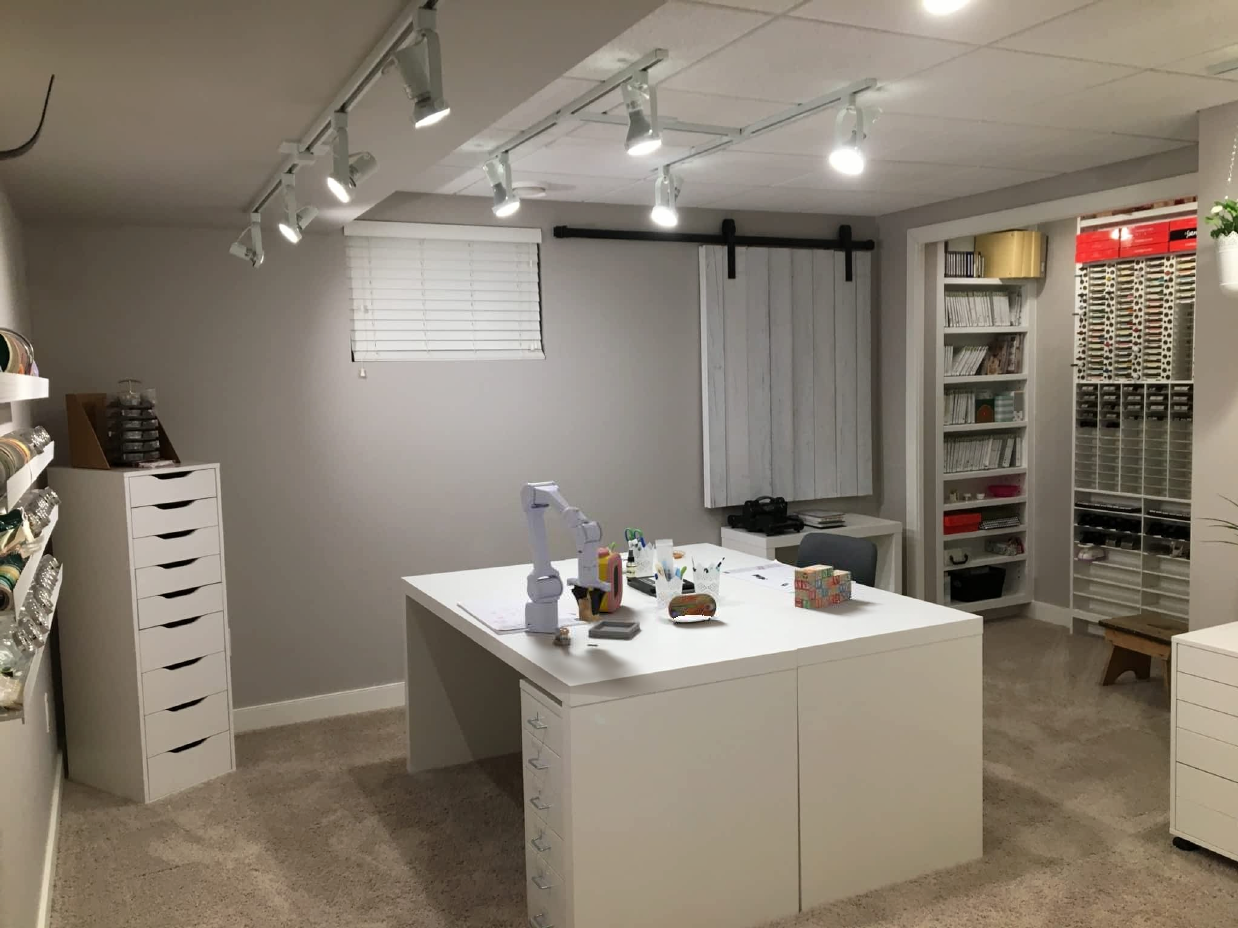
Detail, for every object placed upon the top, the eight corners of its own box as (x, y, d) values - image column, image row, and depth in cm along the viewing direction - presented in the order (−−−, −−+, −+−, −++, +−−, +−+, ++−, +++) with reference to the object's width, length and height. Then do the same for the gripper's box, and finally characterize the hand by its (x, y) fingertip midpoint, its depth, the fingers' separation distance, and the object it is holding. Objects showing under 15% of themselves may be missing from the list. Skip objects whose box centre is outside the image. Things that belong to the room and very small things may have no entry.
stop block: (579, 620, 283) (578, 599, 282) (588, 617, 286) (587, 596, 285) (590, 622, 280) (589, 601, 280) (599, 619, 283) (598, 598, 283)
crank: (554, 637, 286) (553, 623, 285) (566, 636, 287) (566, 622, 286) (559, 645, 277) (559, 631, 276) (572, 644, 277) (572, 630, 277)
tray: (588, 636, 292) (588, 629, 291) (601, 626, 303) (601, 620, 303) (628, 638, 288) (628, 632, 288) (639, 628, 300) (639, 622, 299)
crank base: (550, 645, 283) (549, 641, 283) (556, 640, 288) (556, 636, 288) (594, 647, 279) (594, 643, 279) (599, 643, 284) (599, 639, 284)
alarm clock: (612, 616, 316) (611, 555, 314) (578, 615, 318) (576, 554, 317) (624, 603, 334) (622, 545, 332) (591, 602, 336) (590, 545, 335)
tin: (670, 624, 305) (670, 597, 304) (667, 622, 308) (666, 594, 307) (717, 620, 309) (716, 593, 308) (713, 617, 312) (712, 591, 311)
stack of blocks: (836, 596, 339) (836, 560, 338) (851, 599, 334) (851, 562, 333) (794, 606, 325) (794, 569, 324) (809, 609, 320) (809, 571, 319)
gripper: (559, 565, 283) (560, 612, 284) (599, 570, 274) (600, 619, 275) (575, 561, 289) (576, 608, 290) (615, 566, 280) (616, 614, 281)
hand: (589, 613), depth 283 cm, fingers closed on stop block, 4 cm apart
